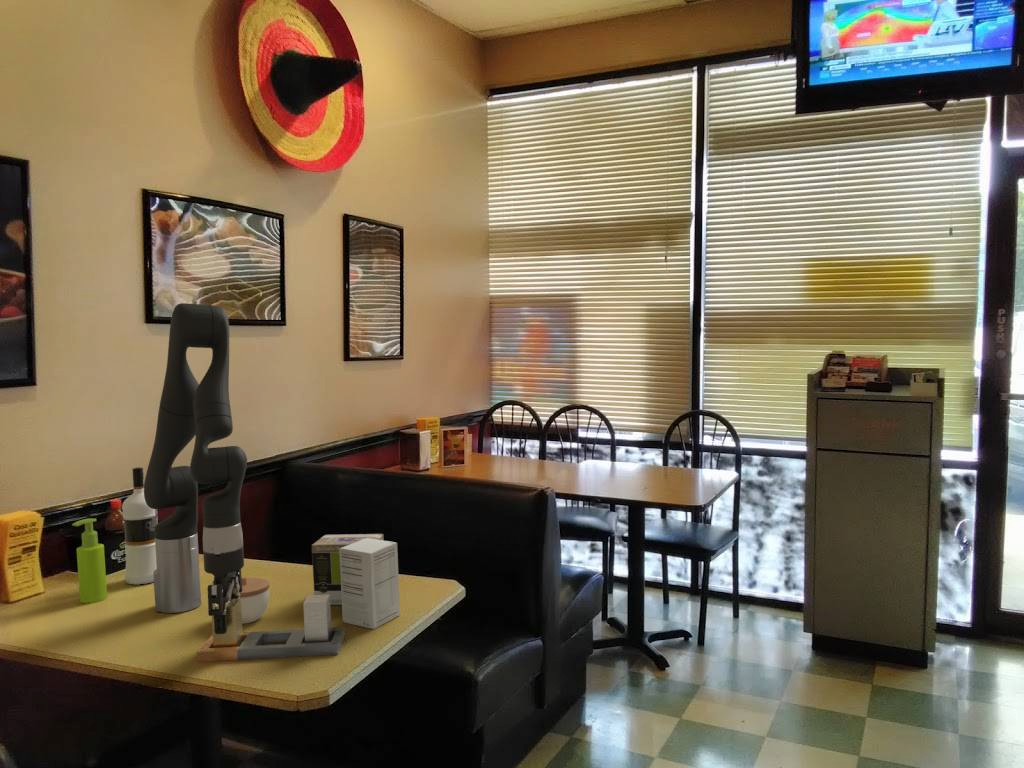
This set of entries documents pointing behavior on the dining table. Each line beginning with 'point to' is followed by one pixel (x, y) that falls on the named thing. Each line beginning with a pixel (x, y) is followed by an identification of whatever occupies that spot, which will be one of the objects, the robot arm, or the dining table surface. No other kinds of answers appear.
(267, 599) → the lidded jar
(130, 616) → the dining table surface
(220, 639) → the beige rectangular block
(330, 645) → the grey flat frame
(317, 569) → the tea box
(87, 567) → the soap dispenser
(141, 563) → the vodka
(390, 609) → the supplement box
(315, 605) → the gray square beam
